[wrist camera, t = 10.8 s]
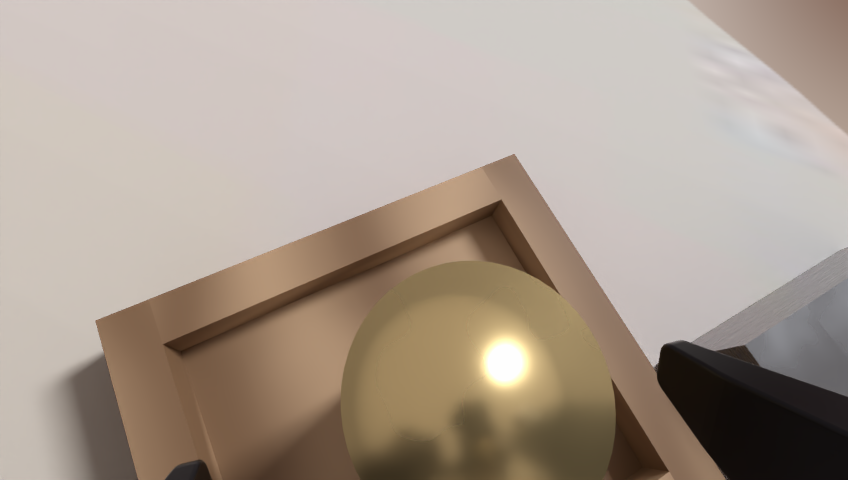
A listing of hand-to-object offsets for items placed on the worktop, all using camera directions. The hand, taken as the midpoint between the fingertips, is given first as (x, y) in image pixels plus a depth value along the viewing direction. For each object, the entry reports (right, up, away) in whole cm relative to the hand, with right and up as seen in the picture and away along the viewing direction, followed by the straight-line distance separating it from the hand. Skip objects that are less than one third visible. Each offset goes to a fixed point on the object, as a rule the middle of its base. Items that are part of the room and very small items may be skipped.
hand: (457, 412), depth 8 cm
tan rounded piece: (-1, -3, +7) cm, 8 cm away
